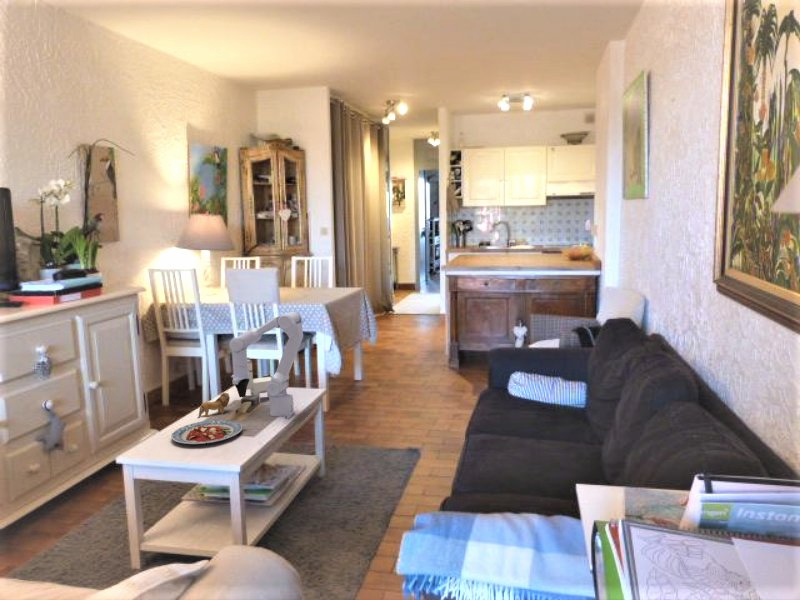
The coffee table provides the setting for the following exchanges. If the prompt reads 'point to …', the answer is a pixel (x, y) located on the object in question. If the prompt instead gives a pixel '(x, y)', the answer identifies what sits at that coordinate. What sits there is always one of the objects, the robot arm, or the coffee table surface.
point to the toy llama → (256, 382)
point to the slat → (245, 407)
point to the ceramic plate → (206, 432)
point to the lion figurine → (215, 405)
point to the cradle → (242, 417)
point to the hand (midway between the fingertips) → (242, 396)
